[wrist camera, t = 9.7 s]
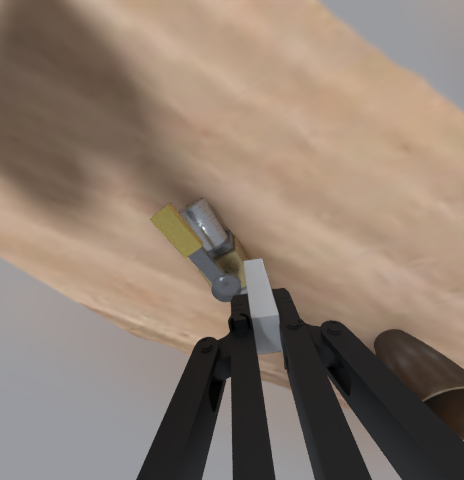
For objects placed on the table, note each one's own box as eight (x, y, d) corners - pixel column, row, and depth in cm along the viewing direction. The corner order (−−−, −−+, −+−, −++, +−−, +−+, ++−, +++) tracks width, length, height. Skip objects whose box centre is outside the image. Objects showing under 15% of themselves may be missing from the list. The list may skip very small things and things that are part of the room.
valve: (177, 211, 40) (163, 228, 32) (210, 192, 39) (205, 205, 30) (240, 307, 48) (243, 341, 40) (269, 294, 47) (278, 327, 38)
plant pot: (358, 369, 55) (404, 450, 41) (354, 323, 50) (406, 397, 35) (421, 357, 54) (493, 437, 39) (425, 309, 49) (510, 379, 34)
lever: (246, 286, 35) (247, 292, 33) (223, 300, 36) (223, 306, 34) (174, 199, 30) (171, 202, 28) (149, 218, 31) (145, 222, 29)
